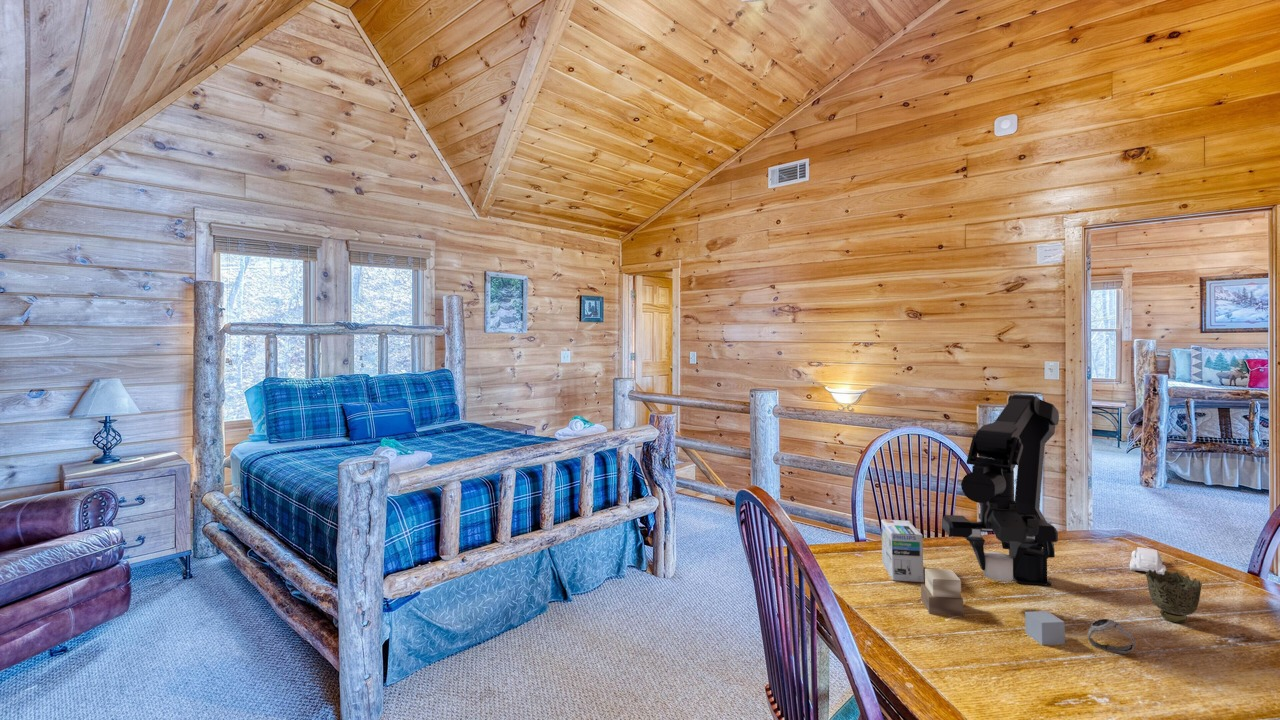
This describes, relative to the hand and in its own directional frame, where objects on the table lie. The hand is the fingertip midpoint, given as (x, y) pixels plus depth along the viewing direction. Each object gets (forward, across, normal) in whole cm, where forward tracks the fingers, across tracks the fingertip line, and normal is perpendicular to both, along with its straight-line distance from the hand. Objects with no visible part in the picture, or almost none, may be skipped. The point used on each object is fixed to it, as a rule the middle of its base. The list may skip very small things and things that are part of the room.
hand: (997, 570), depth 109 cm
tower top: (+4, -11, -3) cm, 12 cm away
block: (+7, +3, -12) cm, 14 cm away
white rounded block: (+8, +40, +27) cm, 49 cm away
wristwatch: (+7, +12, -14) cm, 20 cm away
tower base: (+7, -11, -3) cm, 14 cm away
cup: (+7, +29, 0) cm, 30 cm away
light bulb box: (+7, -15, +14) cm, 22 cm away
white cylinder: (+1, 0, 0) cm, 1 cm away
